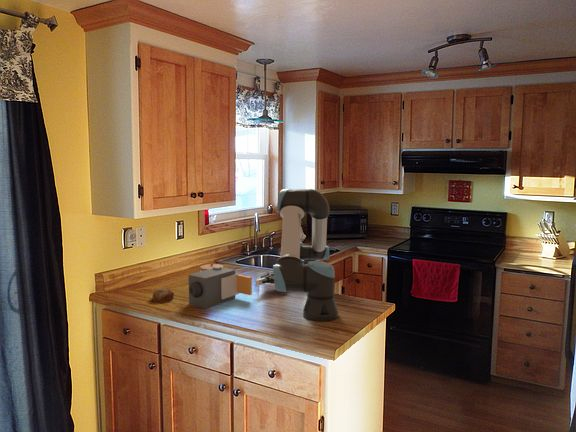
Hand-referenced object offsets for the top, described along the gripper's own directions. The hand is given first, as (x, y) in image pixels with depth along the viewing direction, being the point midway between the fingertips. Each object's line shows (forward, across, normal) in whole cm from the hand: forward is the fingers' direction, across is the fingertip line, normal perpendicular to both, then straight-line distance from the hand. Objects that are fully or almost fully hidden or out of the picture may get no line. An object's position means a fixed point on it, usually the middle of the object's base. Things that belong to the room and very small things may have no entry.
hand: (256, 283), depth 239 cm
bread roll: (+30, +34, -7) cm, 46 cm away
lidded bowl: (-6, +36, -7) cm, 37 cm away
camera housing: (+18, +13, -7) cm, 23 cm away
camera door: (+13, +2, -5) cm, 14 cm away
